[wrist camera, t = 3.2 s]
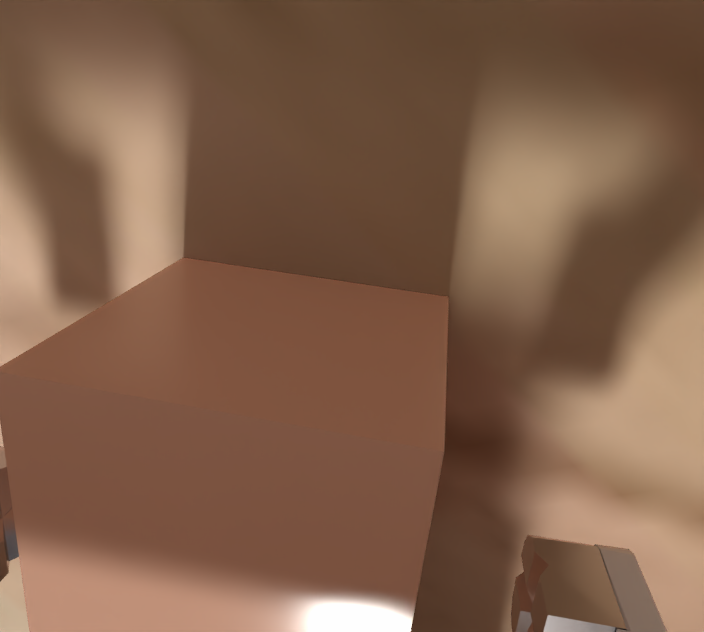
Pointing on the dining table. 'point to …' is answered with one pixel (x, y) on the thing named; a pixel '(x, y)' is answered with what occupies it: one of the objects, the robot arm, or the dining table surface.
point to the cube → (229, 455)
